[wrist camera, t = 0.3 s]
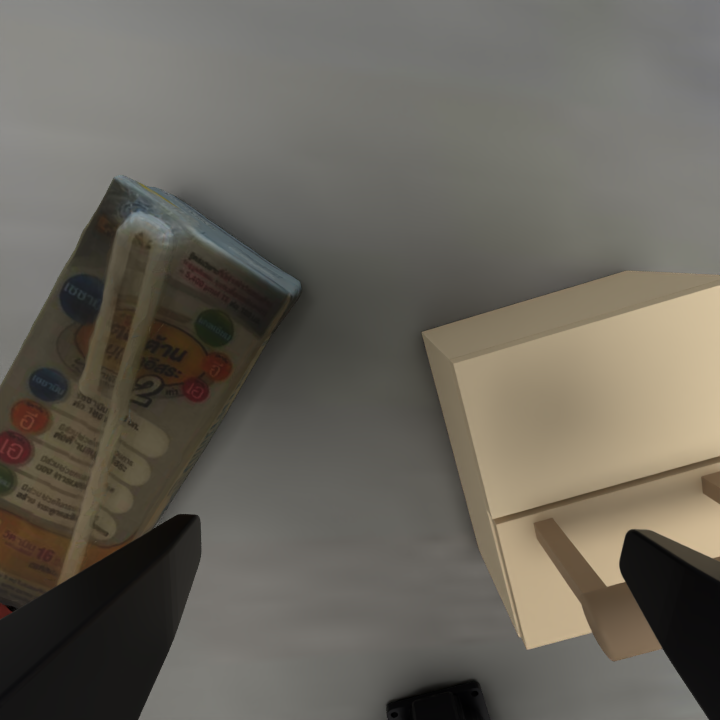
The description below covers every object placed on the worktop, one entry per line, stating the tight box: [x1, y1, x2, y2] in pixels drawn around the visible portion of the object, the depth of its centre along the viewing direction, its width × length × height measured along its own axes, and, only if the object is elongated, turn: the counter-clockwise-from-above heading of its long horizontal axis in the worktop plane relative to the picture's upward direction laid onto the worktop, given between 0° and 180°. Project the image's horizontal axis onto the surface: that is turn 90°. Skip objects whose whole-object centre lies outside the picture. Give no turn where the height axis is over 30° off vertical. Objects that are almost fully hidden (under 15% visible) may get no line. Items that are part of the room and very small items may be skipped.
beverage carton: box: [0, 175, 302, 609], centre depth 19 cm, size 8×19×7 cm, turn 145°
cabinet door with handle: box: [492, 456, 720, 661], centre depth 15 cm, size 7×11×6 cm, turn 107°
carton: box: [421, 271, 720, 637], centre depth 20 cm, size 14×11×7 cm
